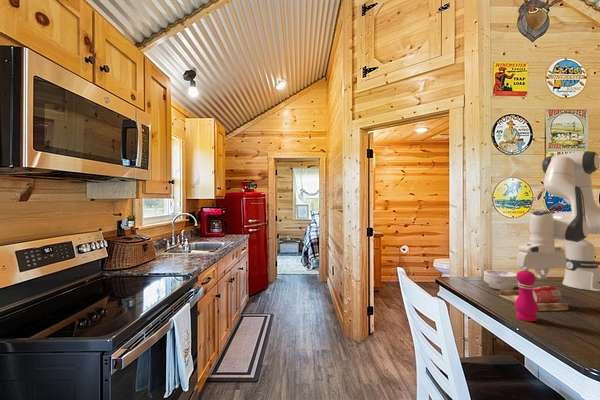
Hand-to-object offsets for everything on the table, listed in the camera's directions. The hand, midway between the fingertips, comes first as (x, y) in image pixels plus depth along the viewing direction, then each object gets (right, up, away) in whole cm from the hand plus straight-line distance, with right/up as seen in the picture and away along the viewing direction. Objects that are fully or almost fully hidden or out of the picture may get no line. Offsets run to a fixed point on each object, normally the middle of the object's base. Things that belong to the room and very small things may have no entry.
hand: (541, 278), depth 135 cm
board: (-5, -11, 0) cm, 12 cm away
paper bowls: (-4, -11, +22) cm, 25 cm away
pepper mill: (-21, -11, -19) cm, 30 cm away
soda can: (+4, -7, -2) cm, 8 cm away
